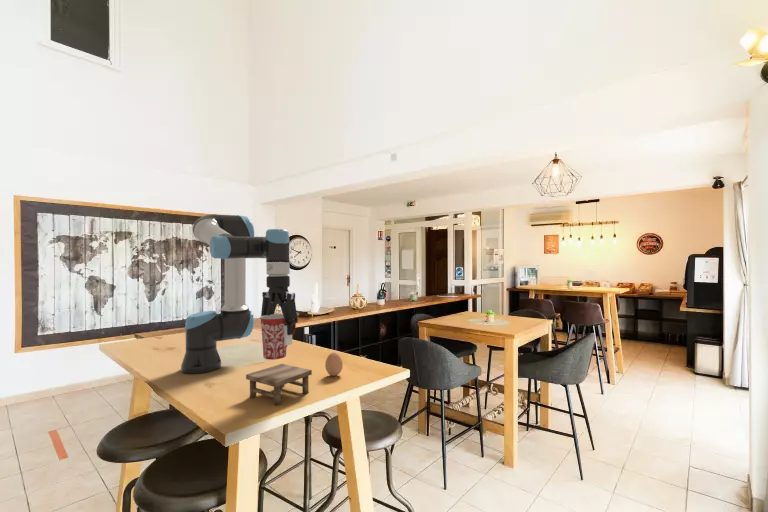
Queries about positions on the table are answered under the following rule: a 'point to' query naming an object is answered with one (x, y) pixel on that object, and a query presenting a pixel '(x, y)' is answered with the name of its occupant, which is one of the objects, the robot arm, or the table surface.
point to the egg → (333, 364)
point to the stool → (278, 380)
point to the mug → (273, 336)
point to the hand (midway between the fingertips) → (279, 343)
